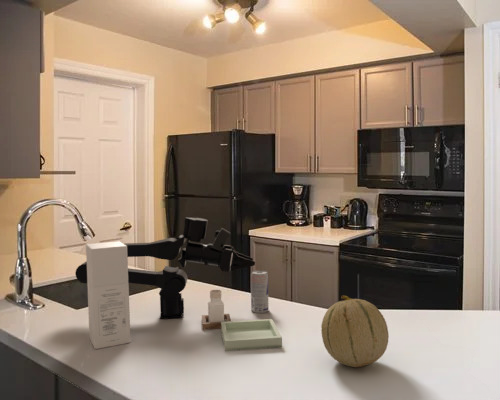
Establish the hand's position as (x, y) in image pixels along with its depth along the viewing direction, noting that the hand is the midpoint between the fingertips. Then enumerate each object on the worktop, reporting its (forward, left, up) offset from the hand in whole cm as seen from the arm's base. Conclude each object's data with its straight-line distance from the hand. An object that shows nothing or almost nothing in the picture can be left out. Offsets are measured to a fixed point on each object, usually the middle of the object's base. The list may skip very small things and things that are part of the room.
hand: (253, 261), depth 139 cm
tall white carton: (-40, -16, -16) cm, 46 cm away
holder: (-12, -8, -16) cm, 21 cm away
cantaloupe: (+17, -40, -16) cm, 46 cm away
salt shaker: (-12, -8, -16) cm, 22 cm away
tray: (-4, -21, -16) cm, 27 cm away
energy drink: (+2, +2, -16) cm, 16 cm away
